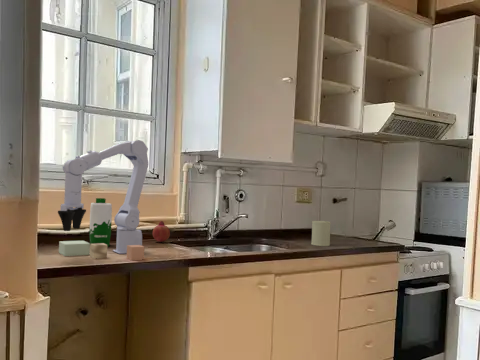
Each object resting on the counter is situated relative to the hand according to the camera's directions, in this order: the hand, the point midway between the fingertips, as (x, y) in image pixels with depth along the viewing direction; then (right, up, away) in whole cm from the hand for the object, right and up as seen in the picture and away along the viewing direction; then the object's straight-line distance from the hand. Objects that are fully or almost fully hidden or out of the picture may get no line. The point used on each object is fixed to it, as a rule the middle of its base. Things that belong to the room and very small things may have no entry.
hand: (71, 229), depth 166 cm
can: (+101, -14, +63) cm, 120 cm away
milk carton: (+1, -10, +30) cm, 32 cm away
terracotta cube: (+23, -11, 0) cm, 25 cm away
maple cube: (+9, -10, +1) cm, 14 cm away
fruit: (+24, -11, +48) cm, 54 cm away
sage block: (-2, -10, +7) cm, 12 cm away
